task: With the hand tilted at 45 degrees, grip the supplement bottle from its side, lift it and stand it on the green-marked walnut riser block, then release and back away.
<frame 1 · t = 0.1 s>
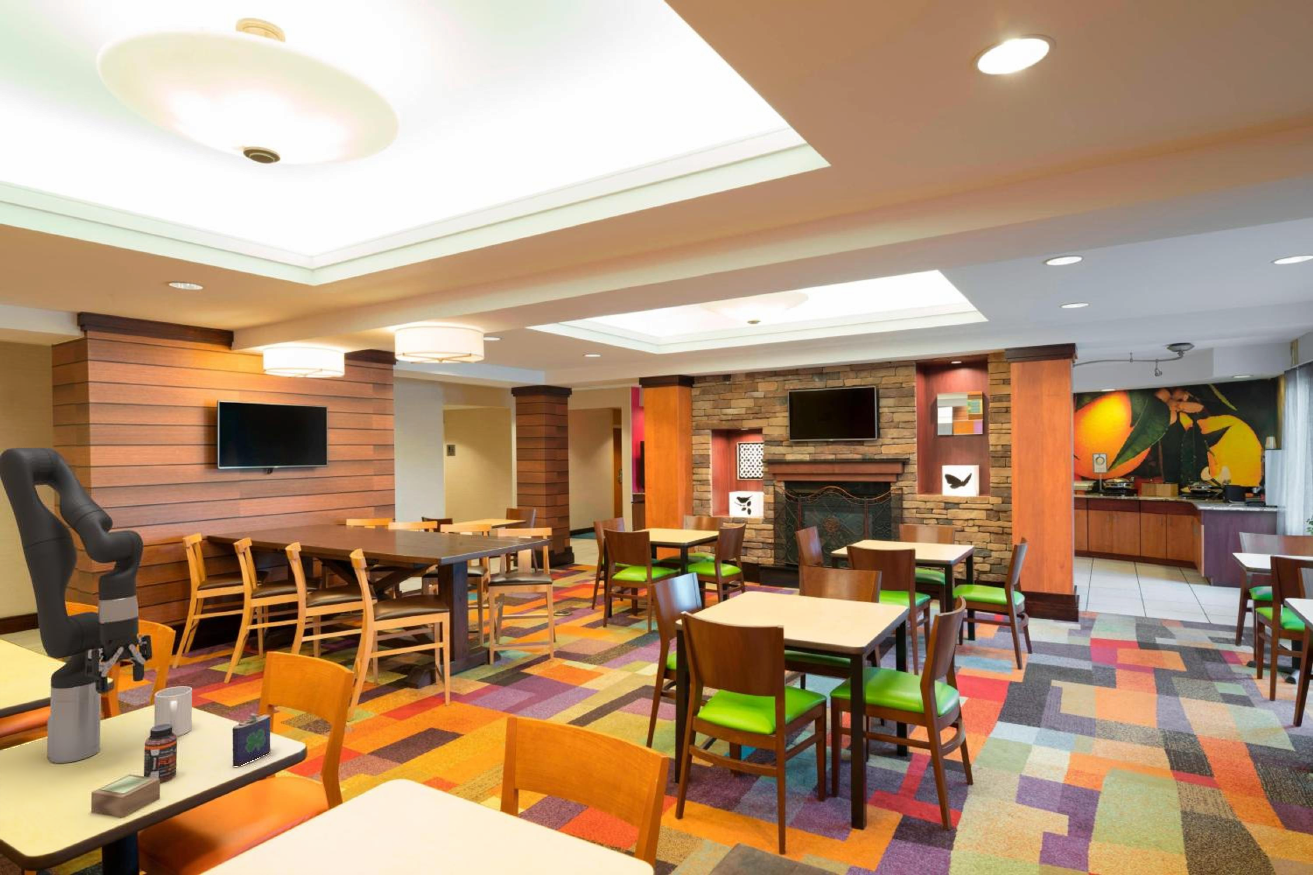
hand: (120, 686, 165), 17 cm above the table, tool pointing down, fingers open, 8 cm apart
supplement bottle: (160, 779, 157), on the table
flask: (252, 760, 166), on the table
riser: (126, 804, 145), on the table
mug: (173, 736, 179), on the table
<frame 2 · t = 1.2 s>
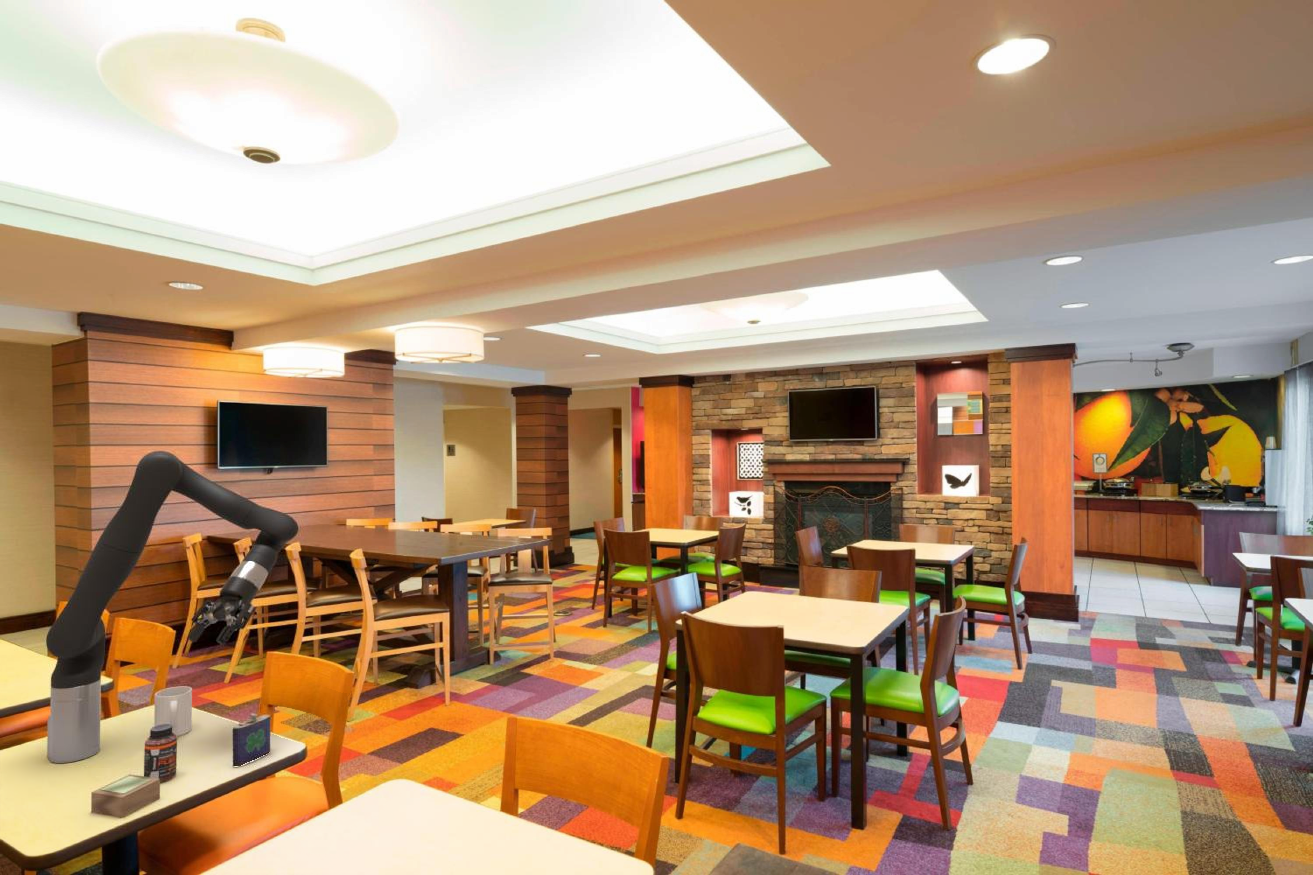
hand: (205, 641, 168), 27 cm above the table, tool tilted 45°, fingers open, 8 cm apart
nothing on the table moved.
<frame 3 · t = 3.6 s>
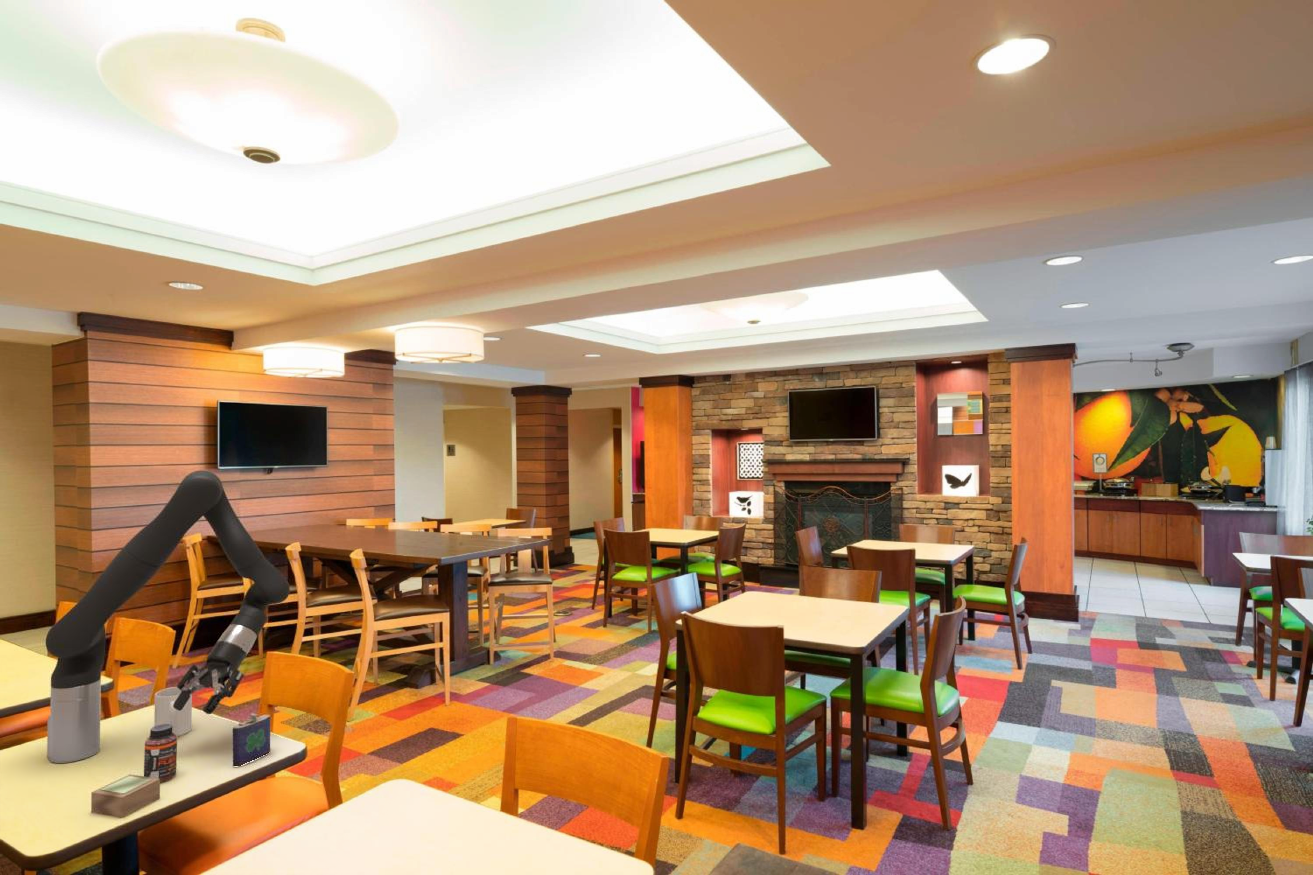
hand: (191, 710, 164), 12 cm above the table, tool tilted 45°, fingers open, 8 cm apart
nothing on the table moved.
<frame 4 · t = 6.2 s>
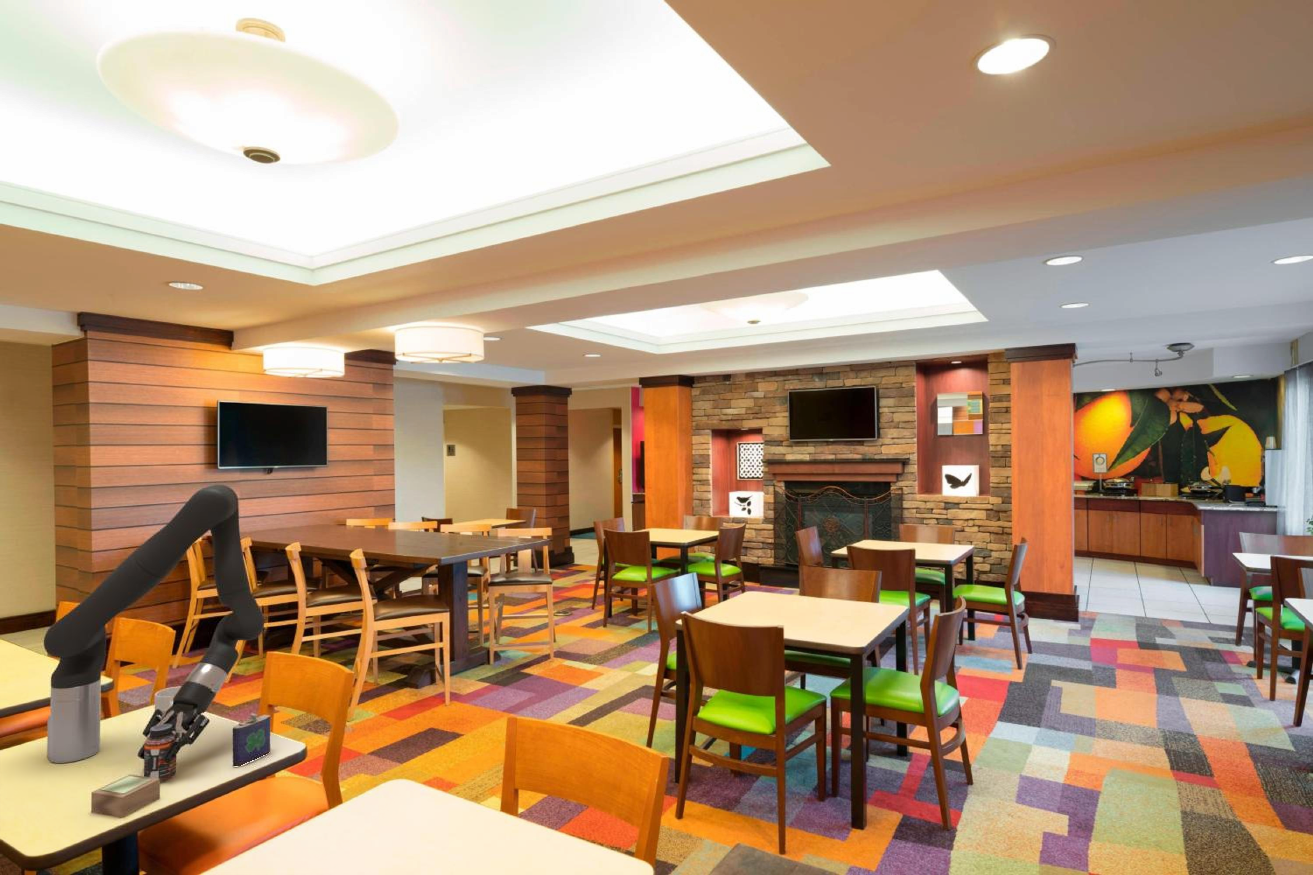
hand: (153, 759, 155), 5 cm above the table, tool tilted 45°, fingers closed on supplement bottle, 6 cm apart
supplement bottle: (160, 778, 157), on the table, touching gripper
everything else where it was.
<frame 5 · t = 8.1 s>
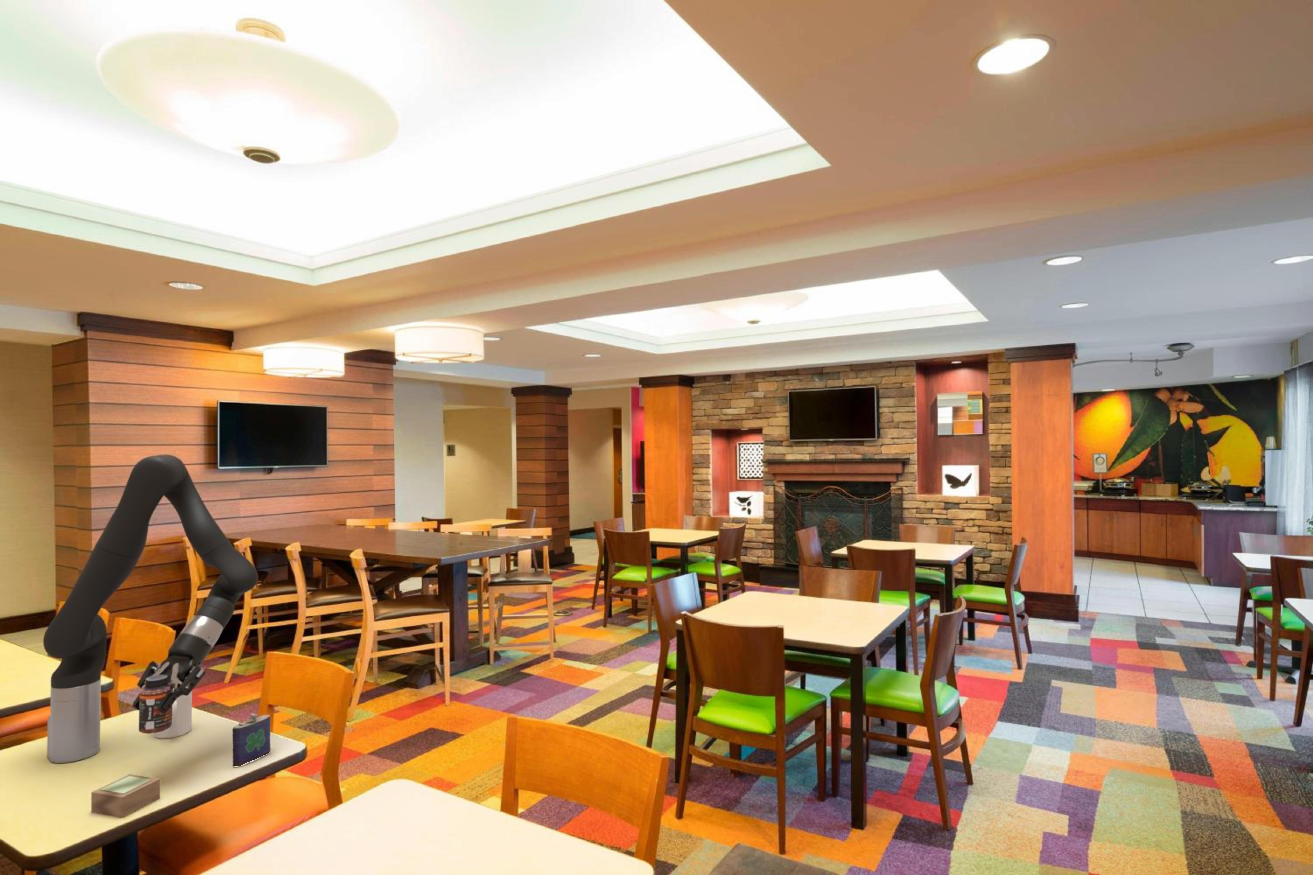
hand: (148, 709, 153), 17 cm above the table, tool tilted 45°, fingers closed on supplement bottle, 6 cm apart
supplement bottle: (155, 729, 154), point 12 cm above the table, touching gripper
everything else where it was.
when the fingers open (10 cm above the table, at t = 10.4 s): supplement bottle stays where it is, resting on riser.
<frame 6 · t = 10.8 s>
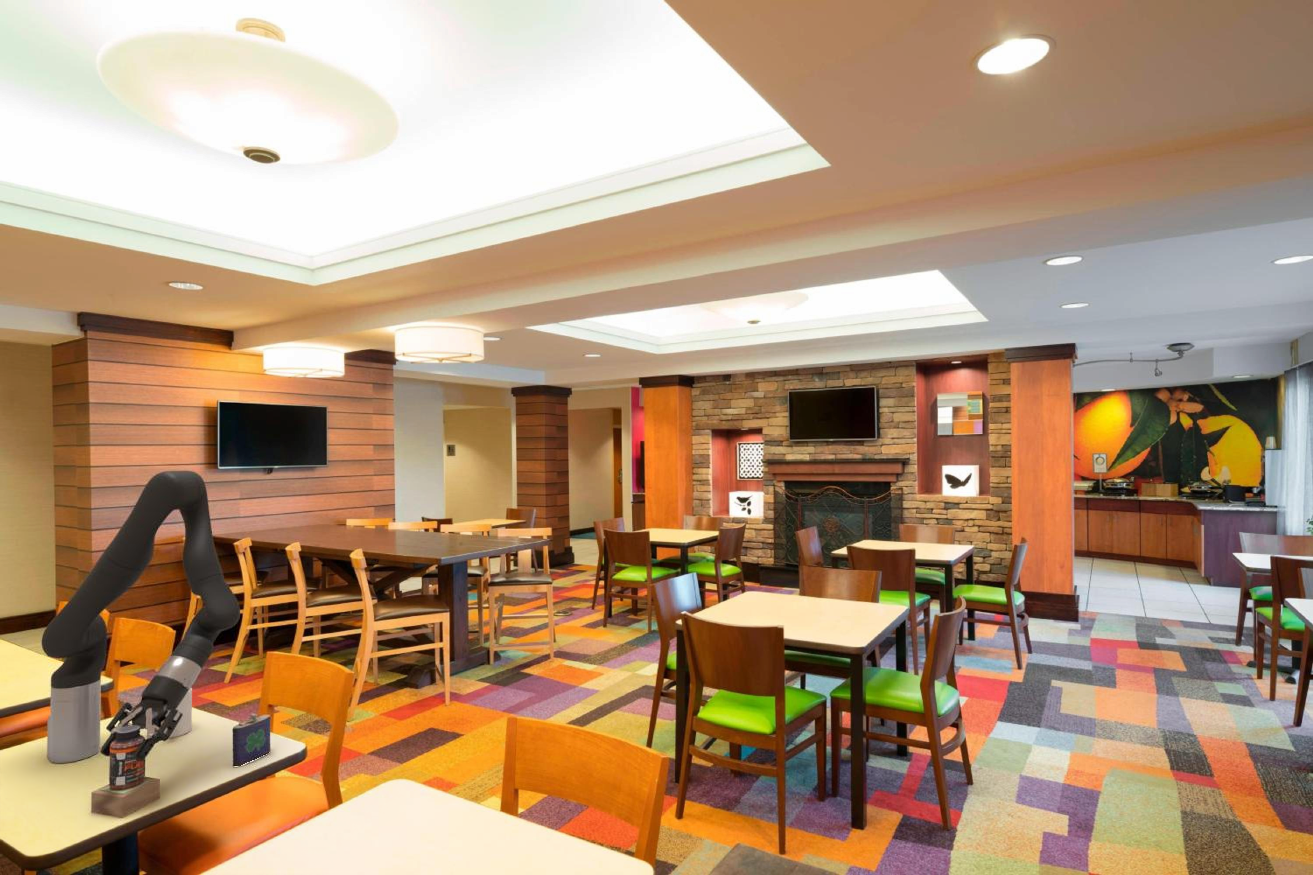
hand: (120, 756, 144), 10 cm above the table, tool tilted 45°, fingers open, 8 cm apart
supplement bottle: (127, 784, 145), point 4 cm above the table, touching riser
everything else where it was.
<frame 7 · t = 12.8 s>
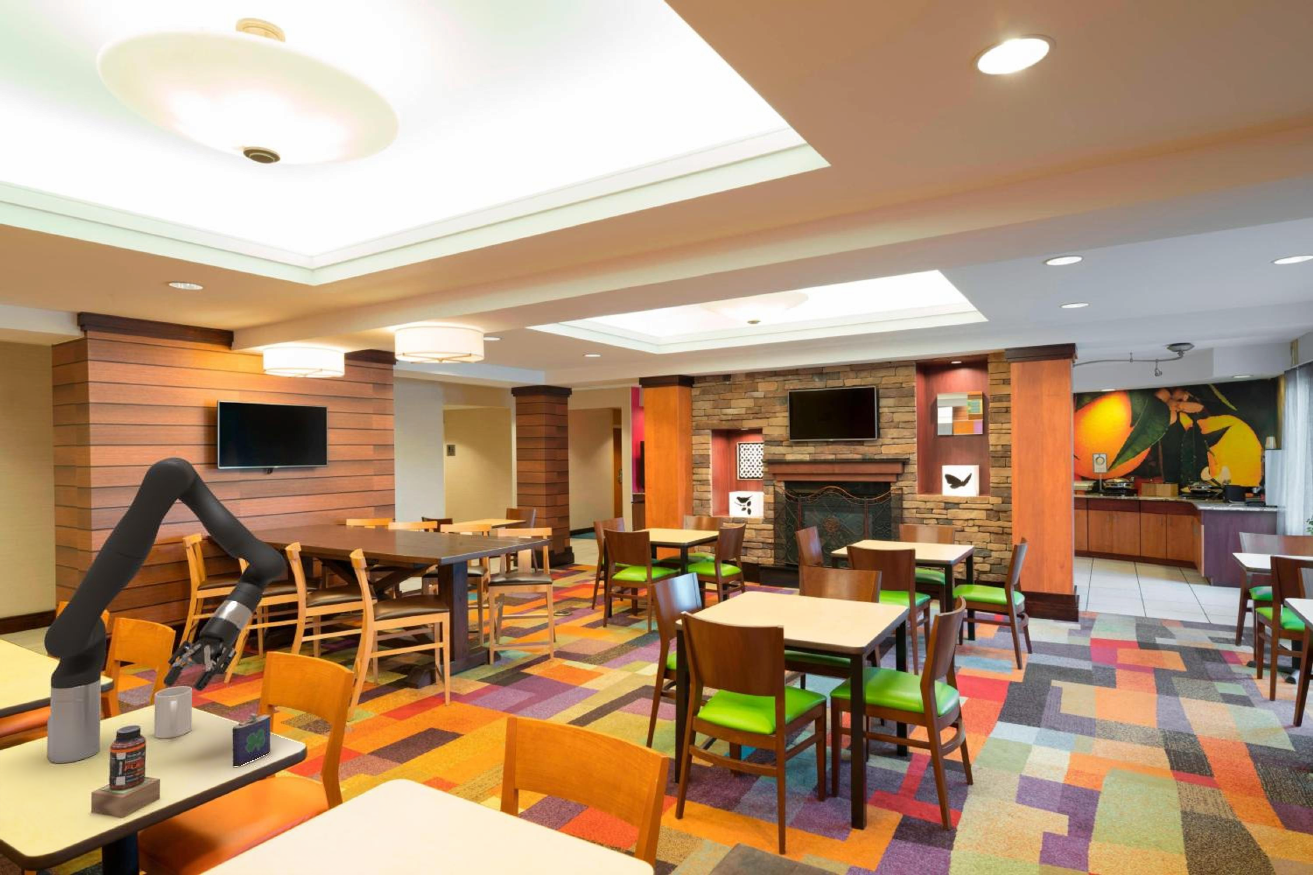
hand: (181, 686, 159), 19 cm above the table, tool tilted 45°, fingers open, 8 cm apart
nothing on the table moved.
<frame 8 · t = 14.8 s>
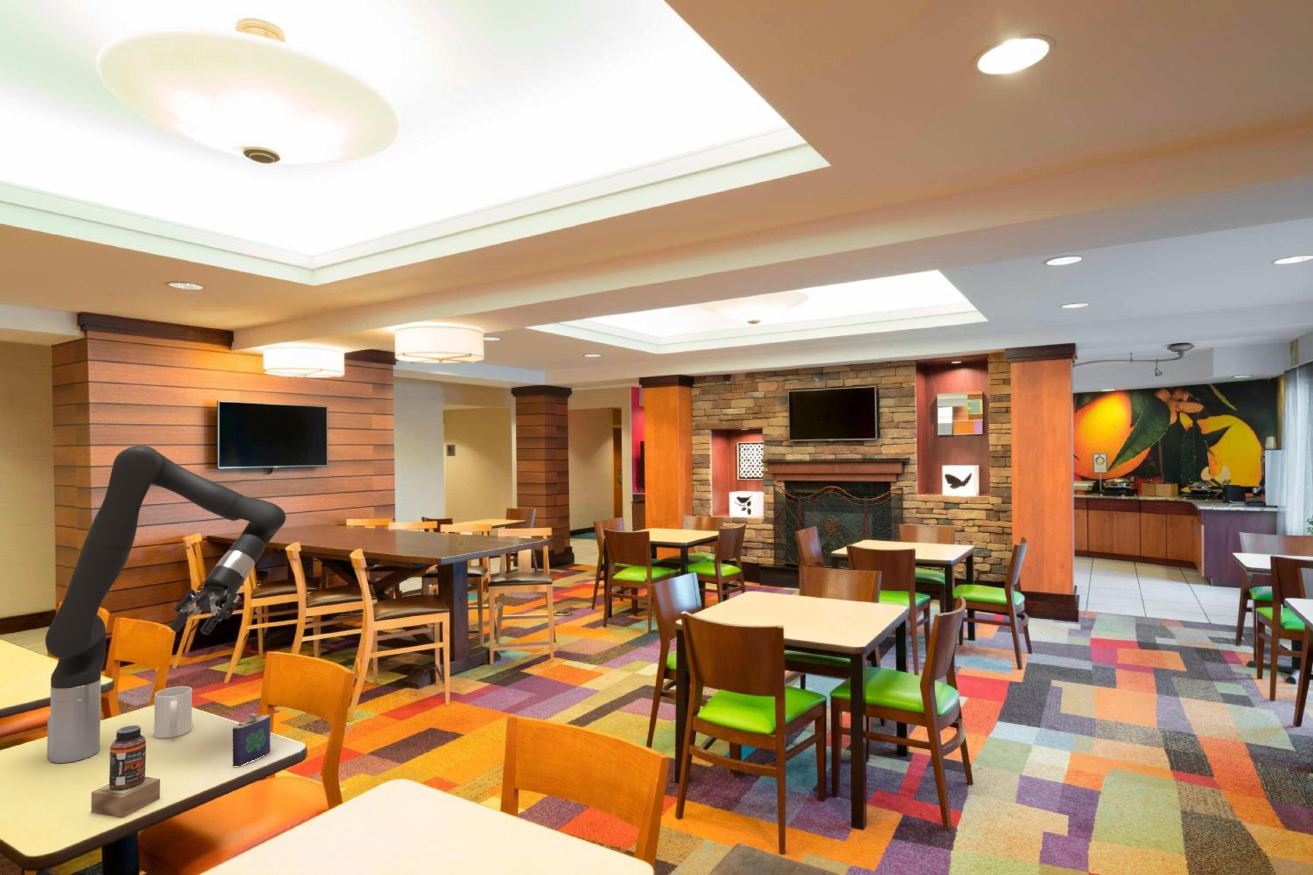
hand: (188, 631, 163), 31 cm above the table, tool tilted 45°, fingers open, 8 cm apart
nothing on the table moved.
at the end: supplement bottle inside the target area on the riser (0.2 cm from its centre), point 4.0 cm above the riser's base; supplement bottle tilted 0°; the gripper is holding nothing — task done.
